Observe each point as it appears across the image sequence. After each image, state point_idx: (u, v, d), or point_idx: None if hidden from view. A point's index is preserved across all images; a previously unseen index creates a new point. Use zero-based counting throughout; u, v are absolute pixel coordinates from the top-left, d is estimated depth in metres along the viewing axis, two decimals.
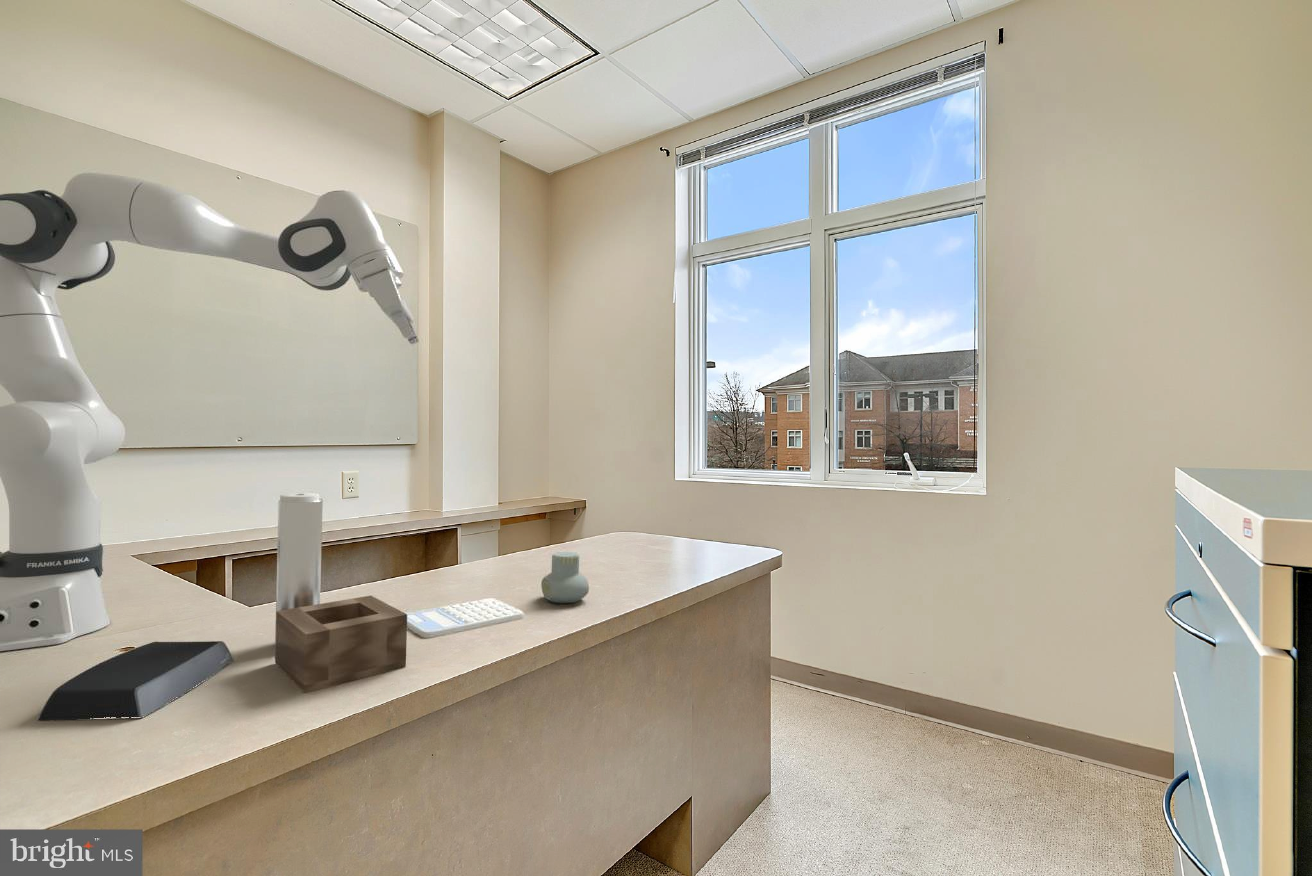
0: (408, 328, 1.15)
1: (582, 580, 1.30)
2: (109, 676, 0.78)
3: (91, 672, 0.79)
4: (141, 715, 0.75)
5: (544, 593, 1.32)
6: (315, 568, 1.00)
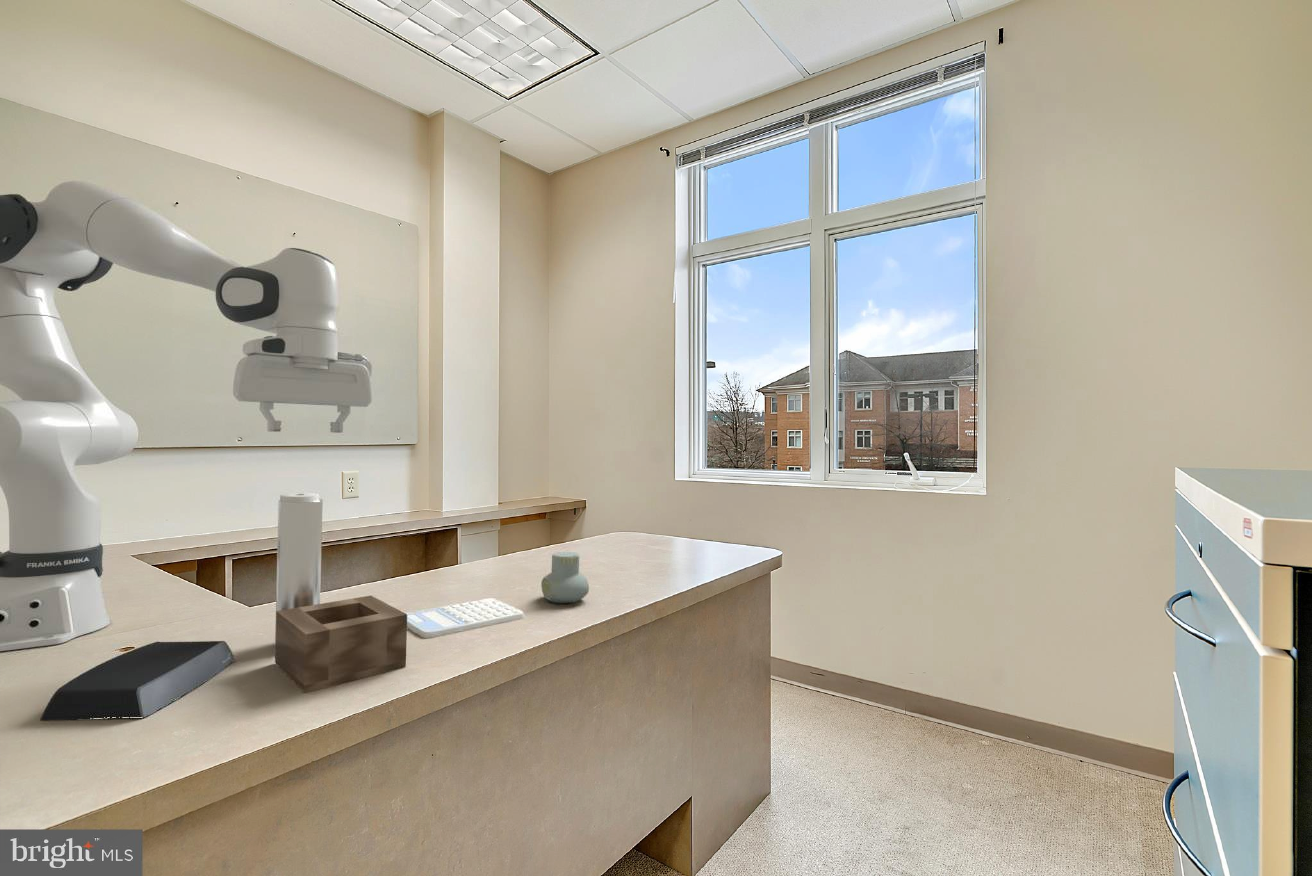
0: (270, 423, 0.97)
1: (582, 580, 1.30)
2: (111, 676, 0.78)
3: (93, 672, 0.79)
4: (143, 715, 0.75)
5: (544, 593, 1.32)
6: (315, 568, 1.00)
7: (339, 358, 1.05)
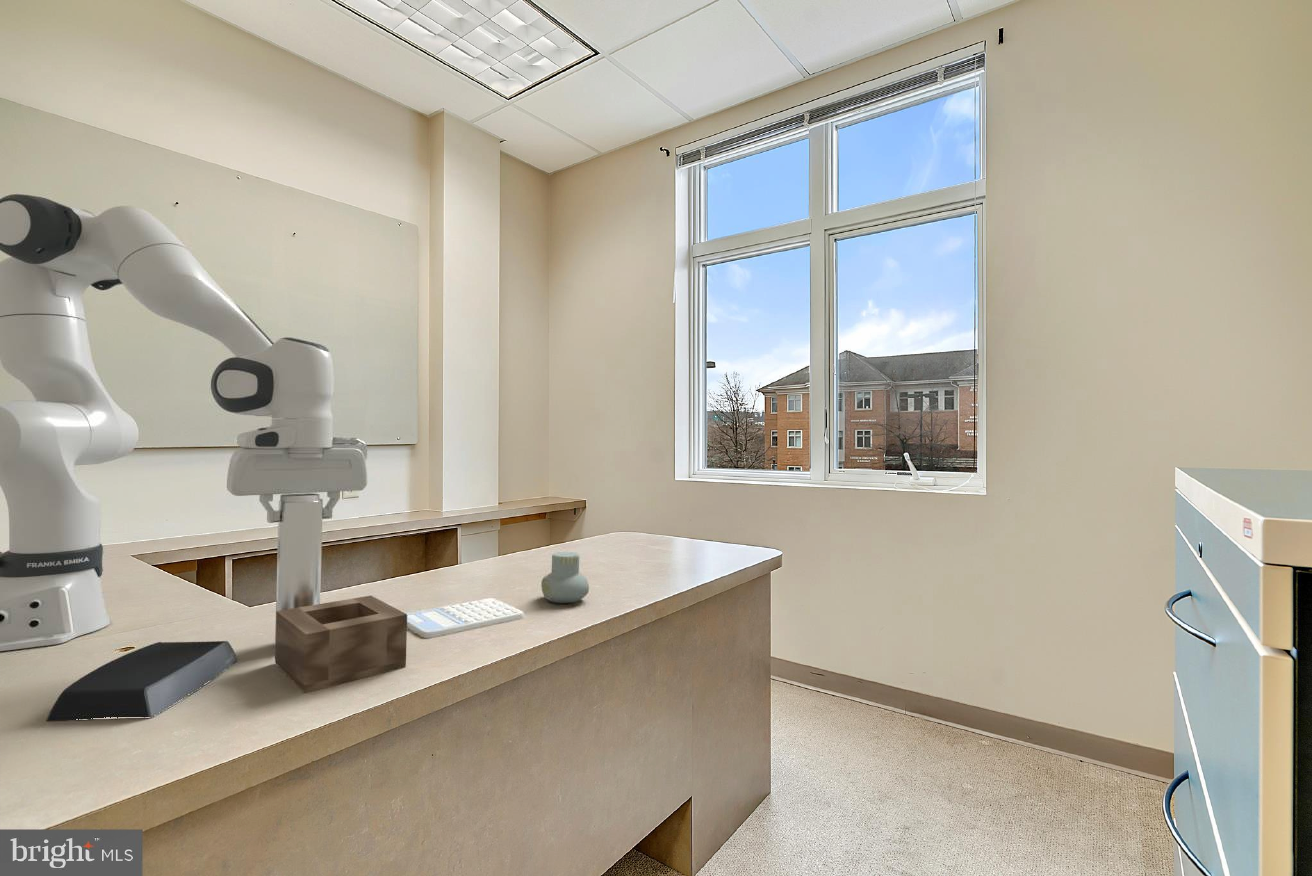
0: (269, 514, 0.97)
1: (582, 580, 1.30)
2: (116, 676, 0.79)
3: (98, 673, 0.79)
4: (151, 715, 0.75)
5: (544, 593, 1.32)
6: (315, 568, 1.00)
7: (334, 443, 1.04)
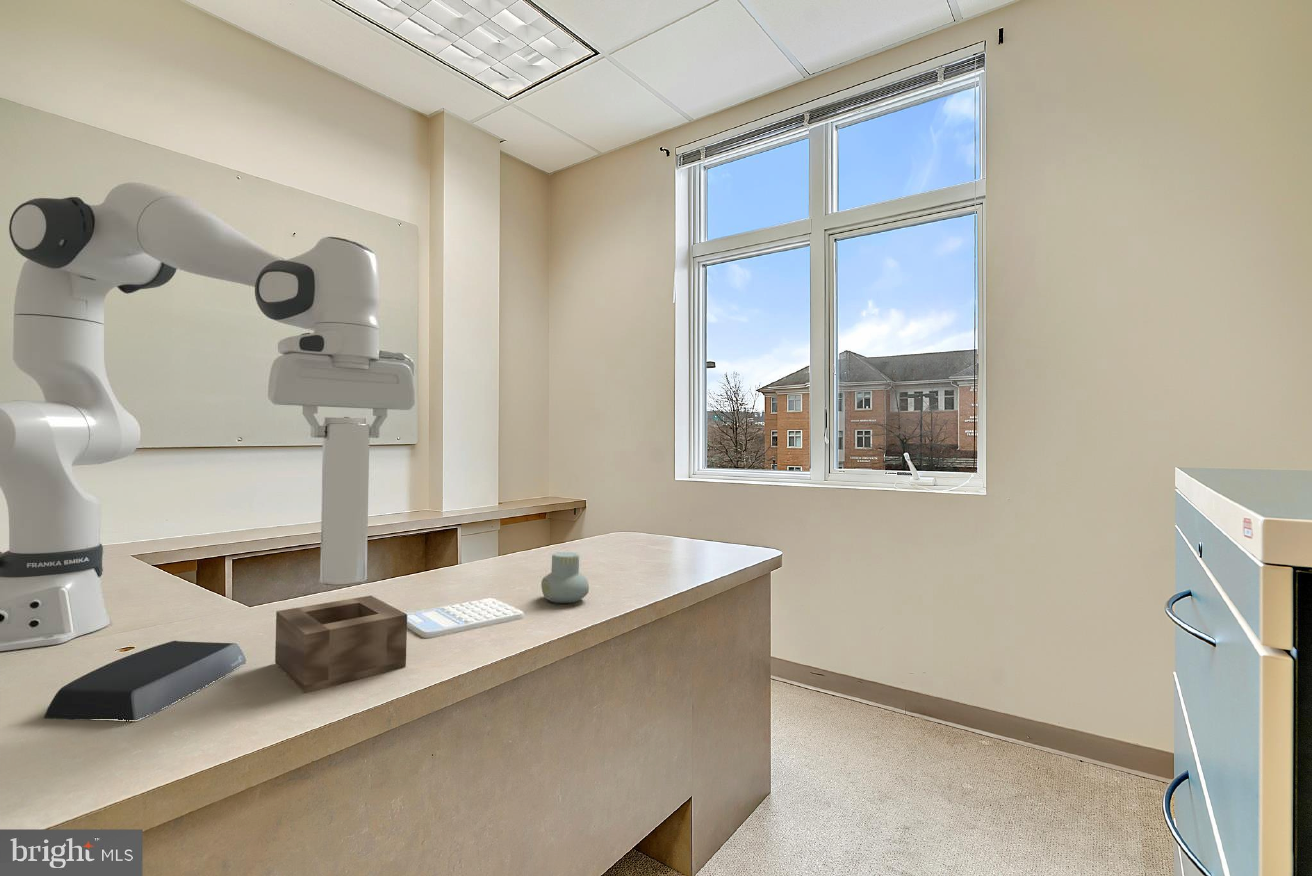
0: (314, 428, 0.89)
1: (582, 580, 1.30)
2: (114, 676, 0.79)
3: (101, 671, 0.80)
4: (136, 718, 0.74)
5: (544, 593, 1.32)
6: (363, 497, 0.92)
7: (380, 357, 0.96)
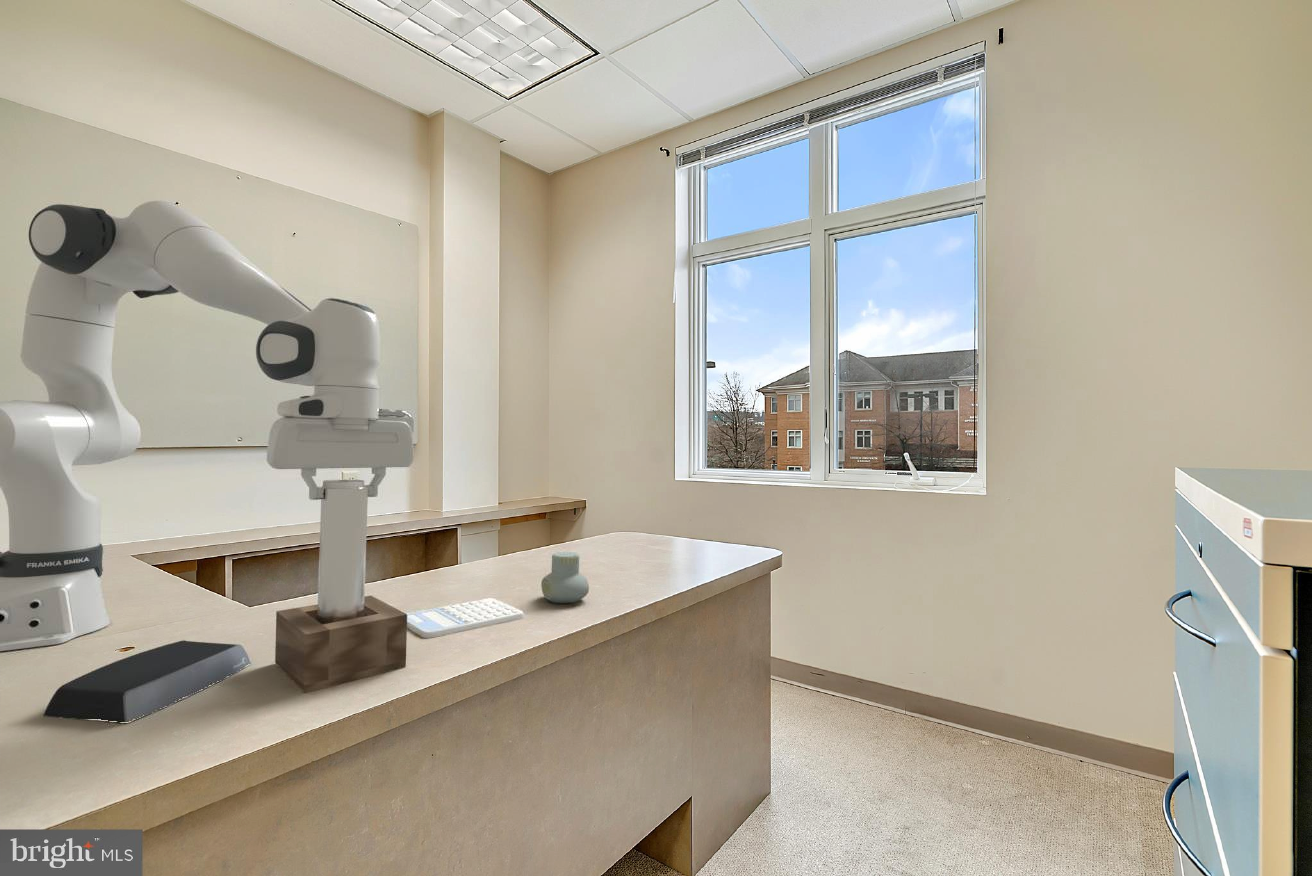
0: (312, 490, 0.89)
1: (582, 580, 1.30)
2: (114, 675, 0.79)
3: (103, 670, 0.80)
4: (127, 720, 0.73)
5: (544, 593, 1.32)
6: (360, 560, 0.92)
7: (380, 415, 0.96)
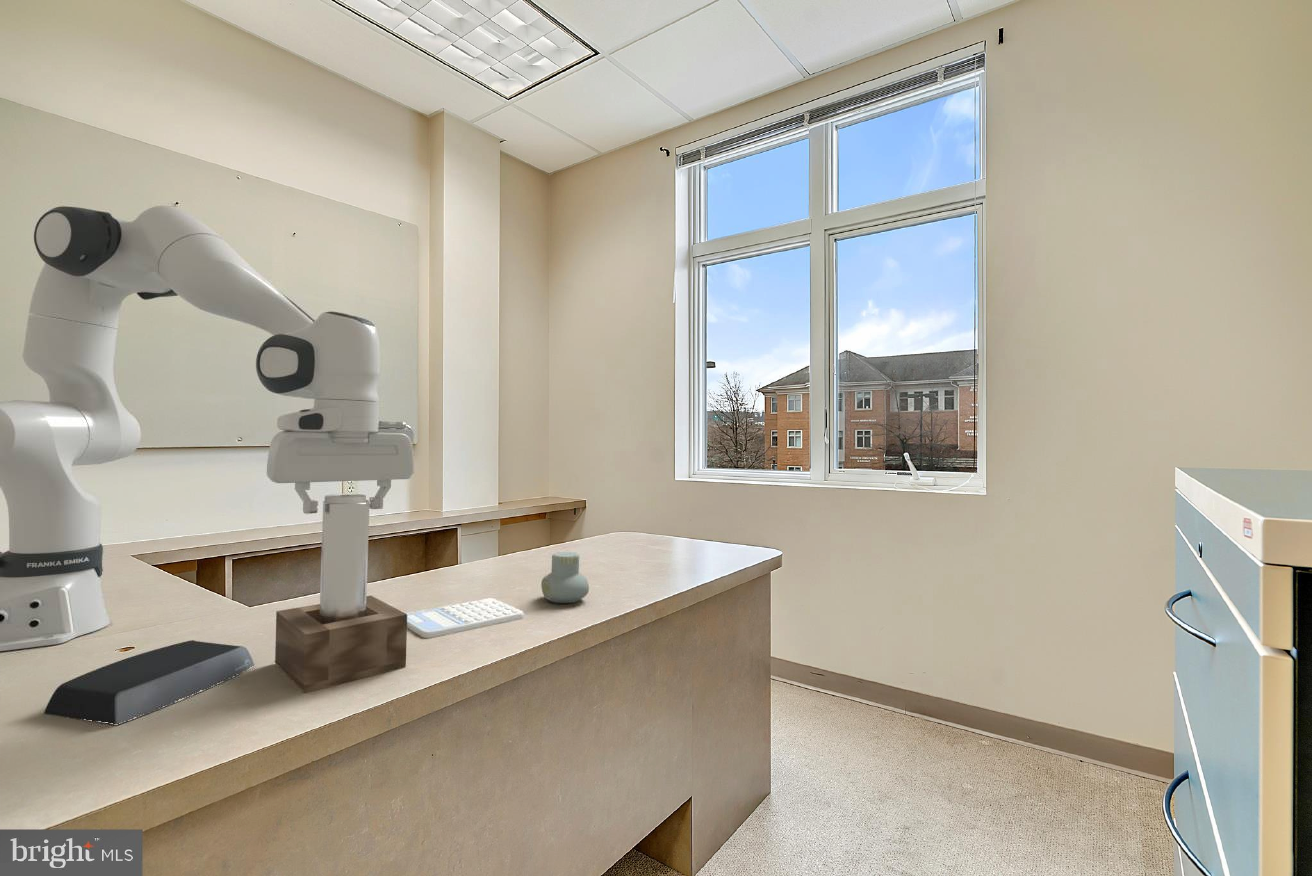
0: (306, 504, 0.89)
1: (582, 580, 1.30)
2: (113, 675, 0.79)
3: (105, 669, 0.81)
4: (117, 722, 0.73)
5: (544, 593, 1.32)
6: (362, 575, 0.92)
7: (380, 428, 0.96)
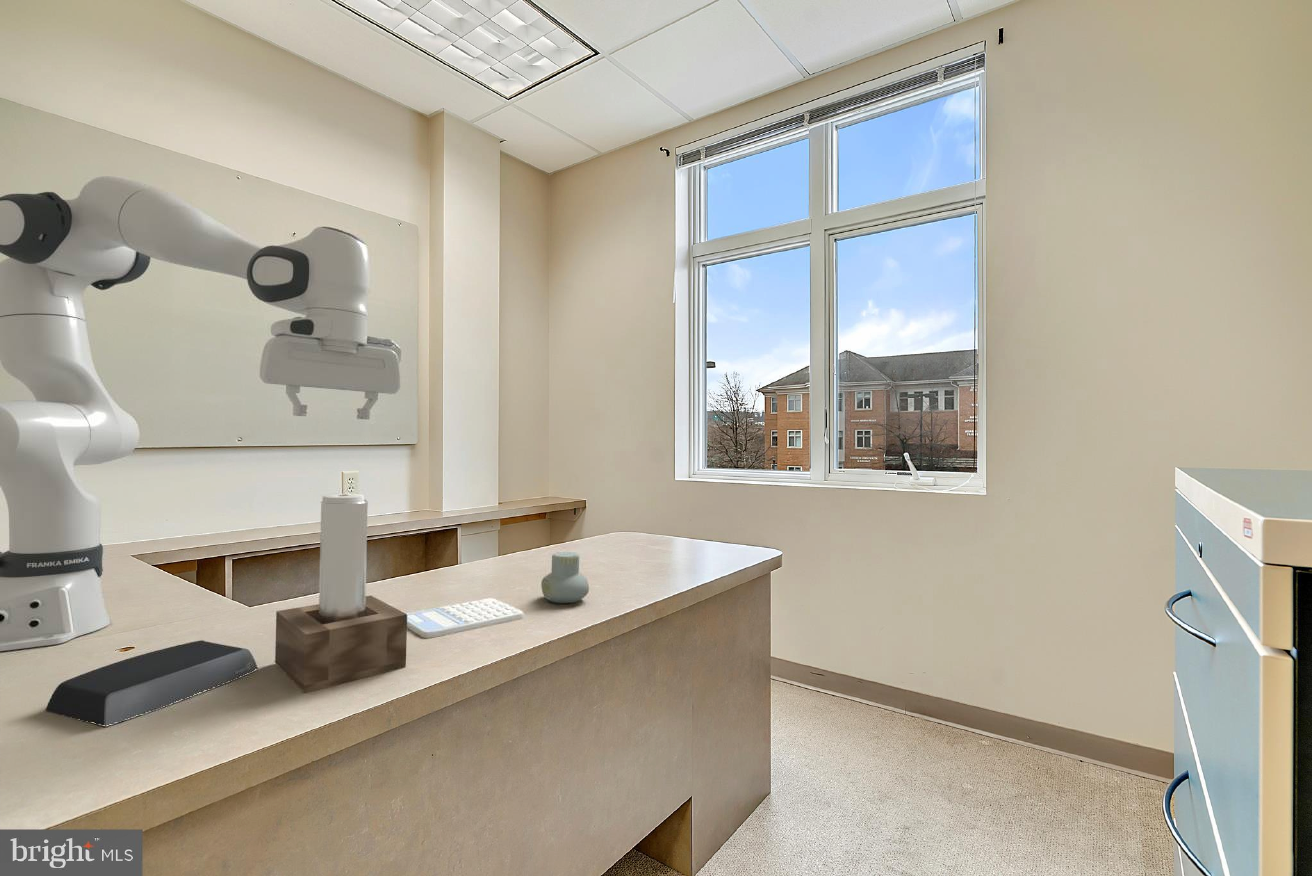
0: (296, 407, 0.94)
1: (582, 580, 1.30)
2: (112, 675, 0.79)
3: (108, 668, 0.81)
4: (106, 724, 0.72)
5: (544, 593, 1.32)
6: (360, 575, 0.92)
7: (368, 342, 1.01)
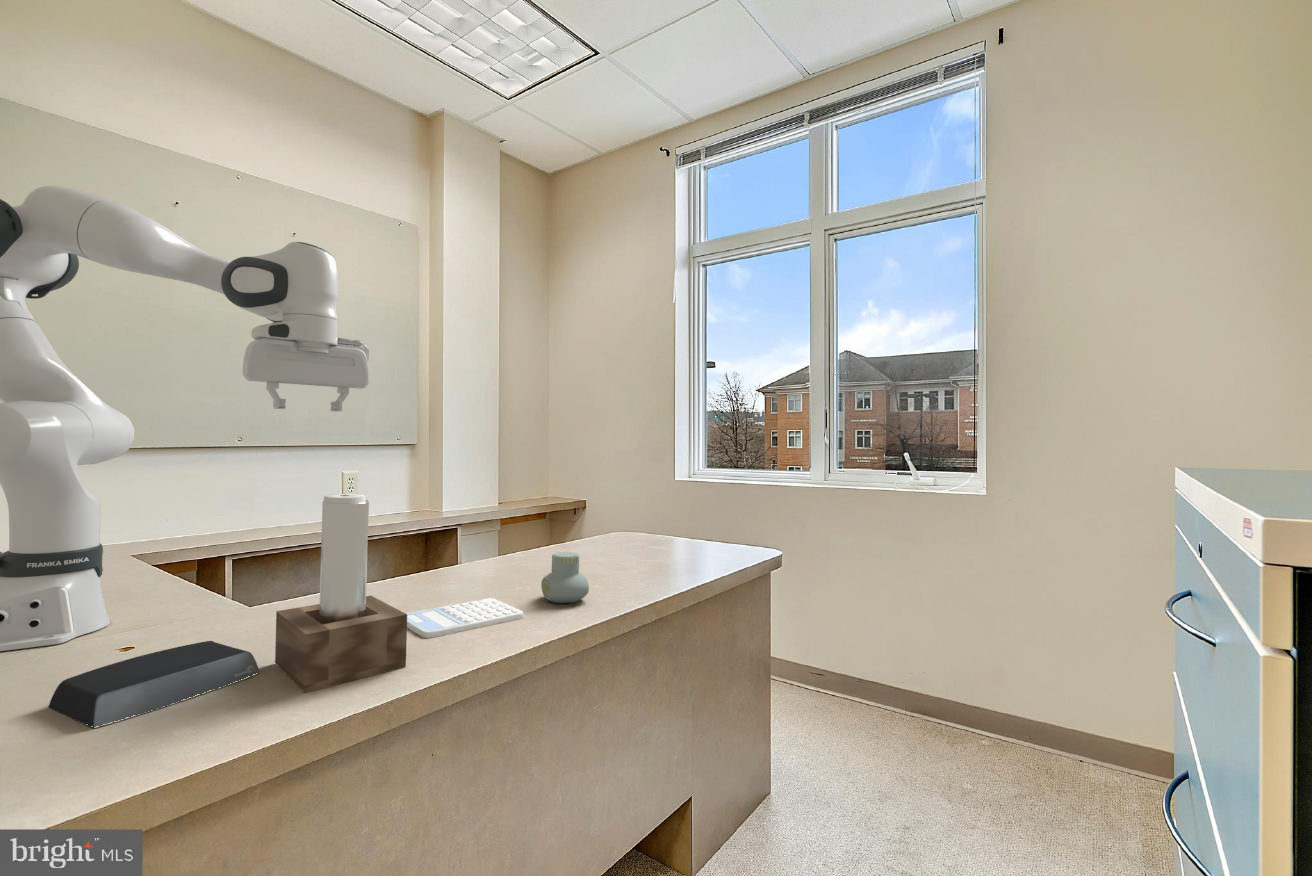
0: (275, 400, 1.07)
1: (582, 580, 1.30)
2: (112, 674, 0.79)
3: (111, 666, 0.81)
4: (95, 725, 0.72)
5: (544, 593, 1.32)
6: (361, 575, 0.92)
7: (339, 343, 1.15)
